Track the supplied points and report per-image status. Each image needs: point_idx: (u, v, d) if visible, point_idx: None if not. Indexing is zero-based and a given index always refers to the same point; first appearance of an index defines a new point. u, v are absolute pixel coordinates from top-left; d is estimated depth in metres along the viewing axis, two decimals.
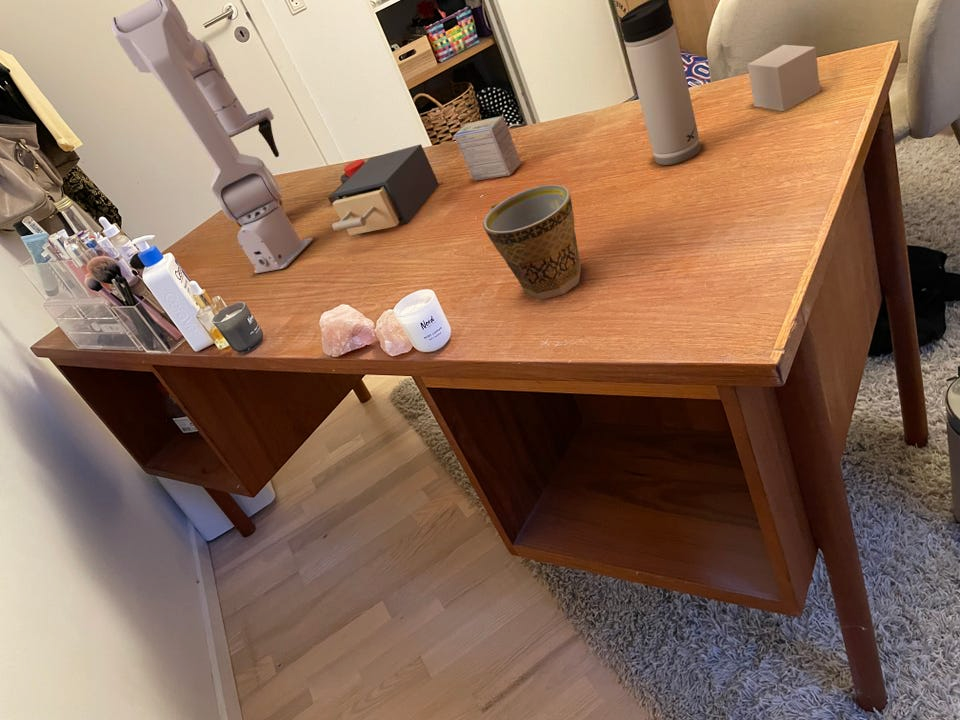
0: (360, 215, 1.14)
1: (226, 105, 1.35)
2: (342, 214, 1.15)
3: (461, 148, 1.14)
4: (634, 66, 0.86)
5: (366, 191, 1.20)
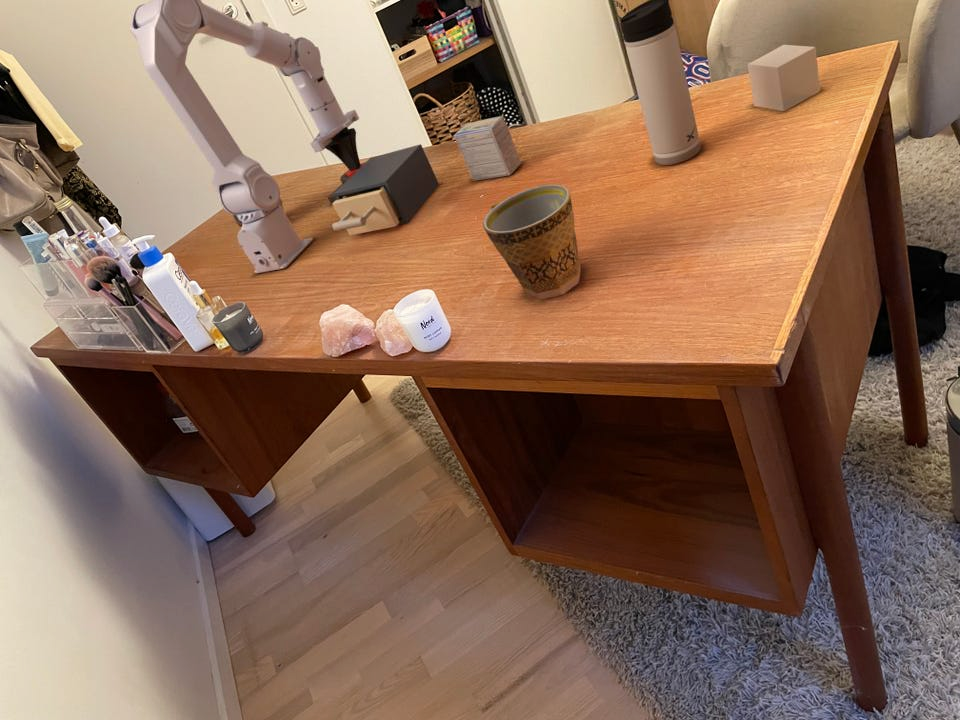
0: (360, 215, 1.14)
1: (314, 108, 1.29)
2: (342, 214, 1.15)
3: (461, 148, 1.14)
4: (634, 66, 0.86)
5: (366, 191, 1.20)
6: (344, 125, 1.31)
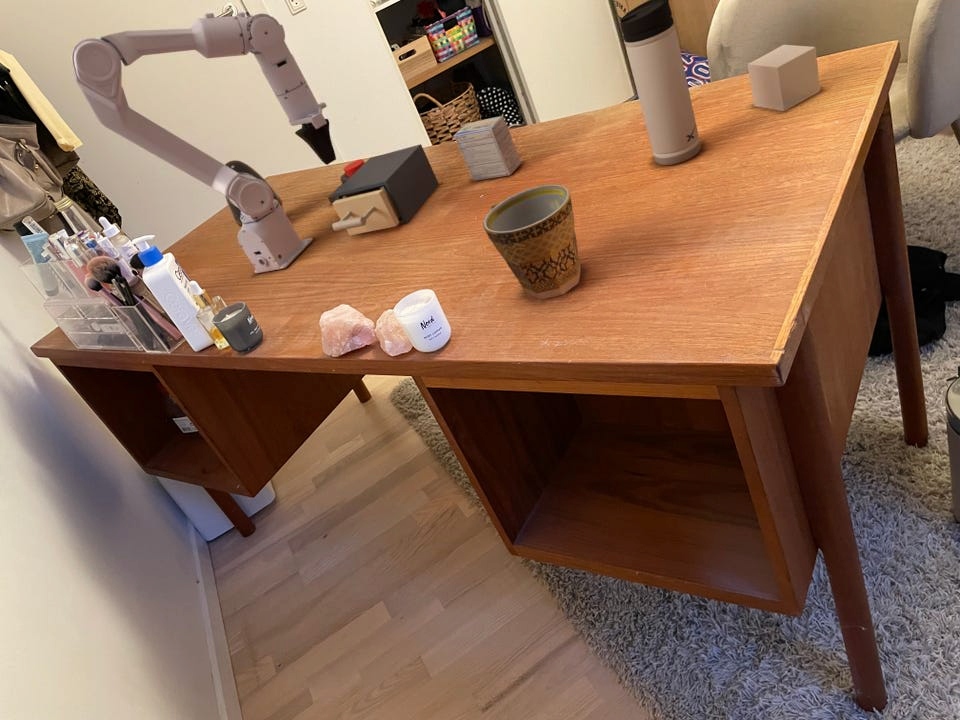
0: (360, 215, 1.14)
1: (277, 94, 1.15)
2: (342, 214, 1.15)
3: (461, 148, 1.14)
4: (634, 66, 0.86)
5: (366, 191, 1.20)
6: (323, 105, 1.18)
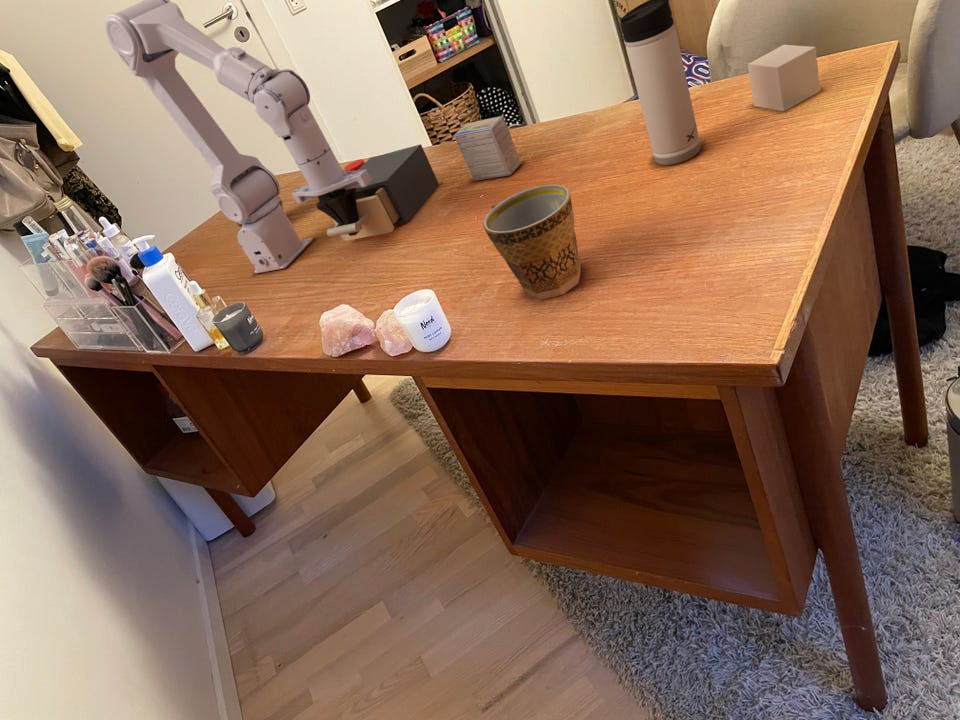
0: None
1: None
2: None
3: (461, 148, 1.14)
4: (634, 66, 0.86)
5: (361, 196, 1.19)
6: (344, 171, 1.08)
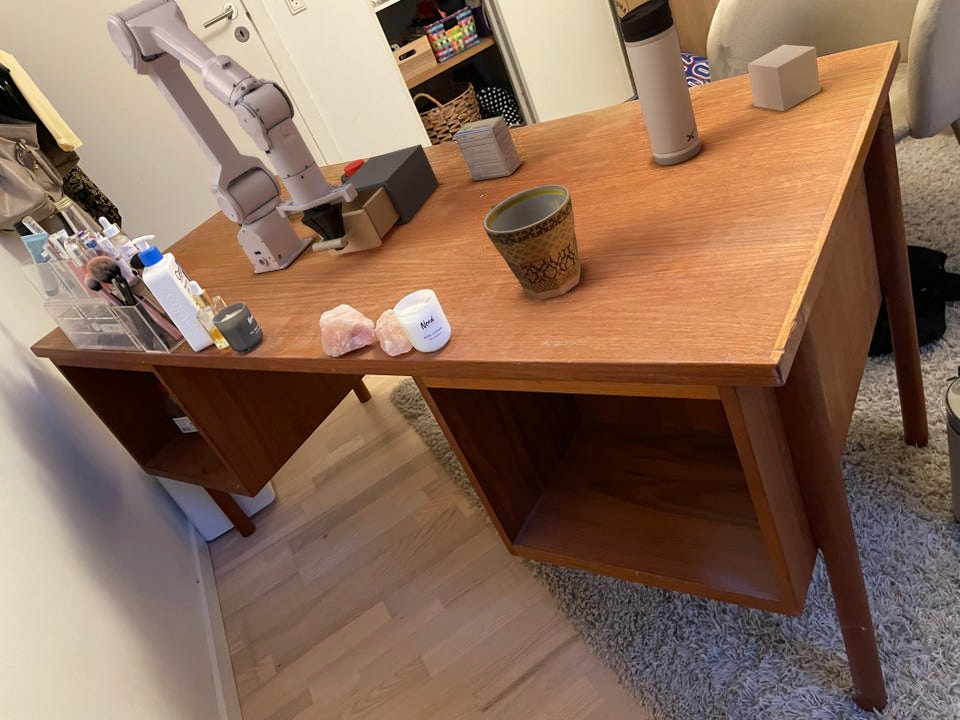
0: None
1: None
2: None
3: (461, 148, 1.14)
4: (634, 66, 0.86)
5: (348, 209, 1.16)
6: (330, 185, 1.05)
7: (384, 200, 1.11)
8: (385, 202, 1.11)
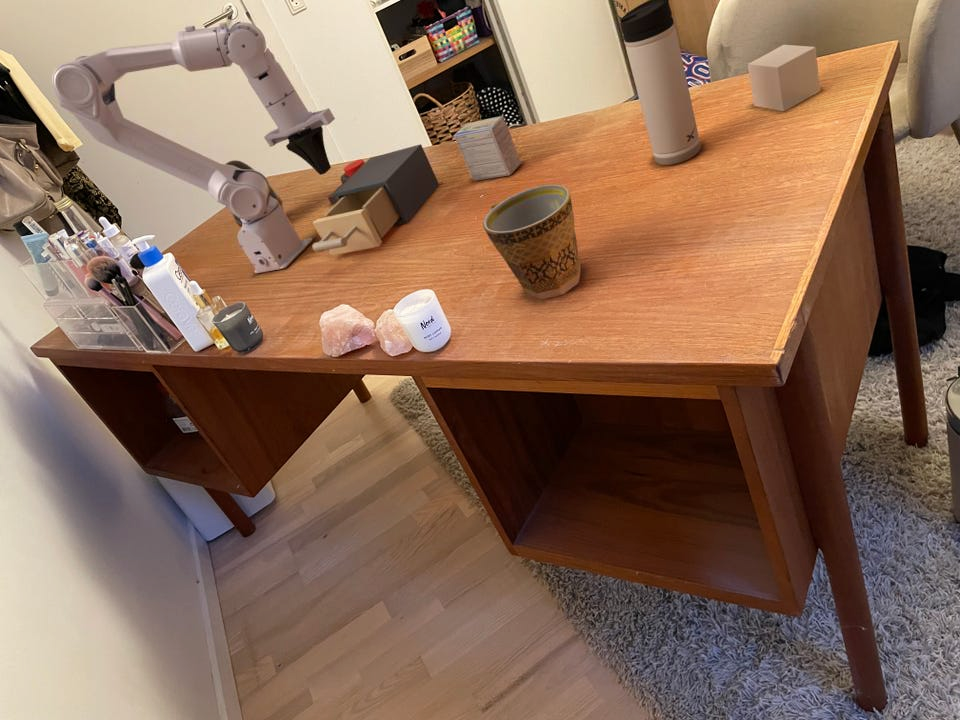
0: (341, 235, 1.10)
1: (264, 105, 1.11)
2: (323, 233, 1.11)
3: (461, 148, 1.14)
4: (634, 66, 0.86)
5: (349, 209, 1.16)
6: None
7: (384, 200, 1.11)
8: (385, 202, 1.11)
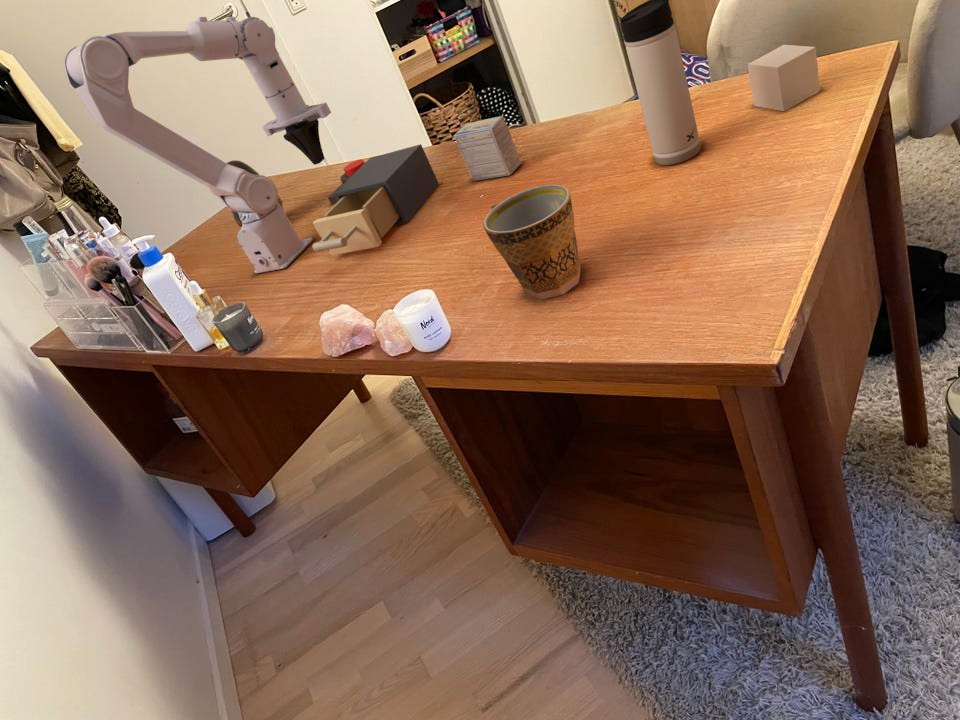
0: (341, 235, 1.10)
1: (268, 96, 1.17)
2: (323, 233, 1.11)
3: (461, 148, 1.14)
4: (634, 66, 0.86)
5: (349, 209, 1.16)
6: (308, 106, 1.23)
7: (384, 200, 1.11)
8: (385, 202, 1.11)
